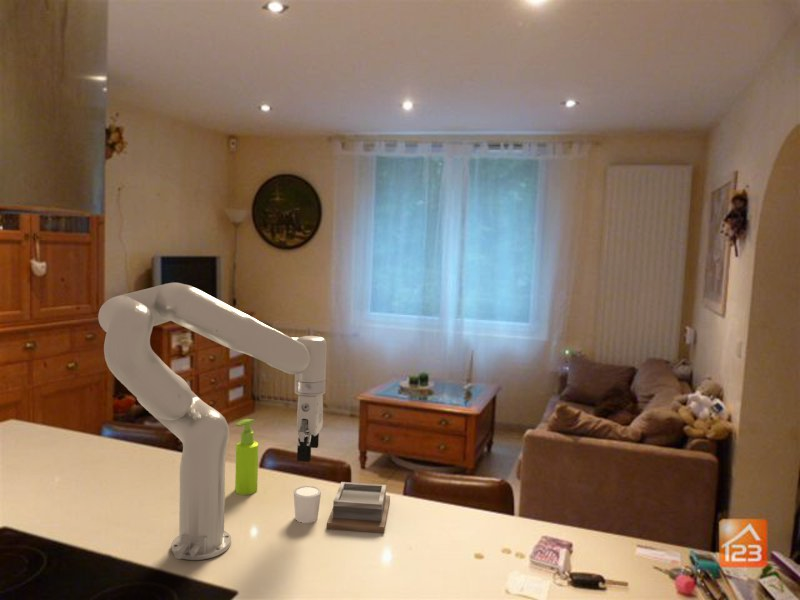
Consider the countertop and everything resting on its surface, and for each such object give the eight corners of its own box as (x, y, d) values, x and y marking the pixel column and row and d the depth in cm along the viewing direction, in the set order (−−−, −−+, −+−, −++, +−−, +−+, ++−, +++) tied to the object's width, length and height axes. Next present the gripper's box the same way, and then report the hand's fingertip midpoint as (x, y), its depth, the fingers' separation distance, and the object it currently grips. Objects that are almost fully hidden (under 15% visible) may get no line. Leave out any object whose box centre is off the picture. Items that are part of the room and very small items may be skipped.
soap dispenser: (227, 492, 160) (229, 421, 158) (245, 484, 166) (247, 415, 164) (244, 498, 157) (245, 425, 155) (261, 489, 163) (263, 418, 161)
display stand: (384, 533, 141) (385, 510, 141) (326, 529, 142) (327, 506, 142) (389, 501, 159) (390, 480, 159) (338, 497, 160) (339, 477, 159)
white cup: (317, 525, 144) (318, 497, 143) (290, 523, 144) (290, 496, 143) (322, 512, 151) (323, 486, 150) (295, 511, 151) (296, 484, 150)
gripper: (318, 396, 136) (316, 468, 137) (331, 379, 153) (328, 443, 155) (286, 394, 136) (284, 466, 138) (302, 377, 153) (300, 441, 155)
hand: (308, 453), depth 146 cm, fingers open, 9 cm apart
